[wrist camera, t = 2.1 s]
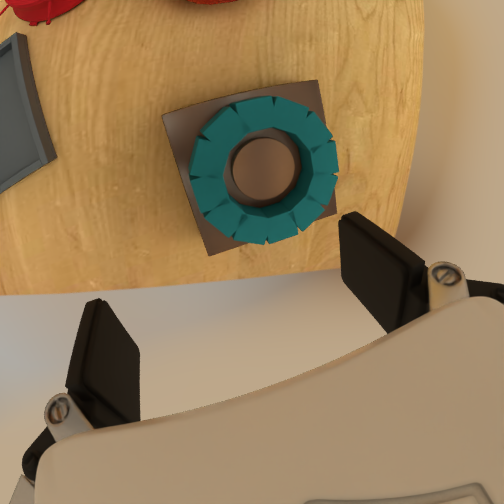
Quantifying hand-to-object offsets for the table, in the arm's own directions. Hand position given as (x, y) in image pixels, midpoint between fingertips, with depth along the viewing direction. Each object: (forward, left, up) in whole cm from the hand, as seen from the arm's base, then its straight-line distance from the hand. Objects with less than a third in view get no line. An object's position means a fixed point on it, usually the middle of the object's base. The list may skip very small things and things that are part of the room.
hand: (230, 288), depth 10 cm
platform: (-5, 0, -16) cm, 17 cm away
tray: (+18, -13, -16) cm, 28 cm away
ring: (-5, 0, -12) cm, 13 cm away
